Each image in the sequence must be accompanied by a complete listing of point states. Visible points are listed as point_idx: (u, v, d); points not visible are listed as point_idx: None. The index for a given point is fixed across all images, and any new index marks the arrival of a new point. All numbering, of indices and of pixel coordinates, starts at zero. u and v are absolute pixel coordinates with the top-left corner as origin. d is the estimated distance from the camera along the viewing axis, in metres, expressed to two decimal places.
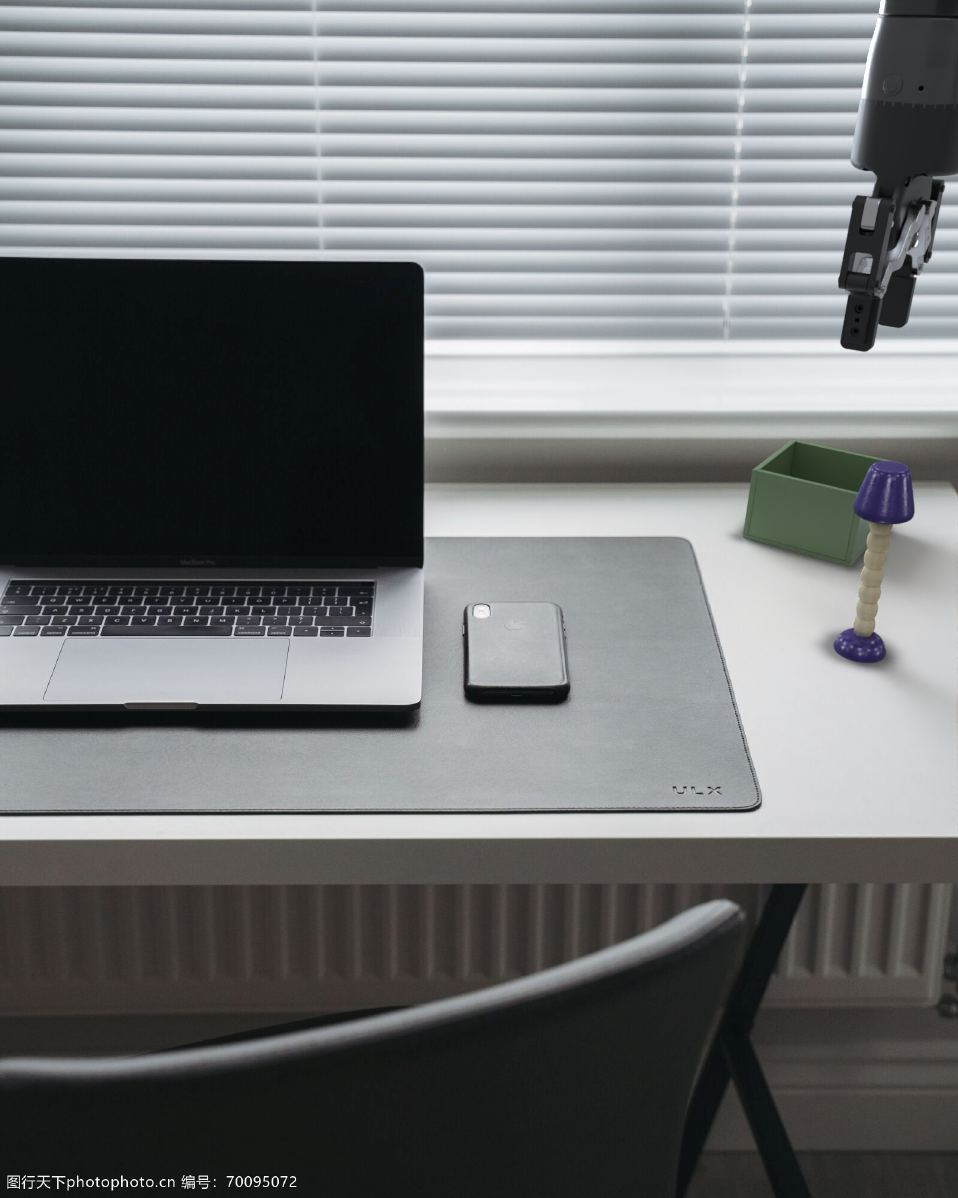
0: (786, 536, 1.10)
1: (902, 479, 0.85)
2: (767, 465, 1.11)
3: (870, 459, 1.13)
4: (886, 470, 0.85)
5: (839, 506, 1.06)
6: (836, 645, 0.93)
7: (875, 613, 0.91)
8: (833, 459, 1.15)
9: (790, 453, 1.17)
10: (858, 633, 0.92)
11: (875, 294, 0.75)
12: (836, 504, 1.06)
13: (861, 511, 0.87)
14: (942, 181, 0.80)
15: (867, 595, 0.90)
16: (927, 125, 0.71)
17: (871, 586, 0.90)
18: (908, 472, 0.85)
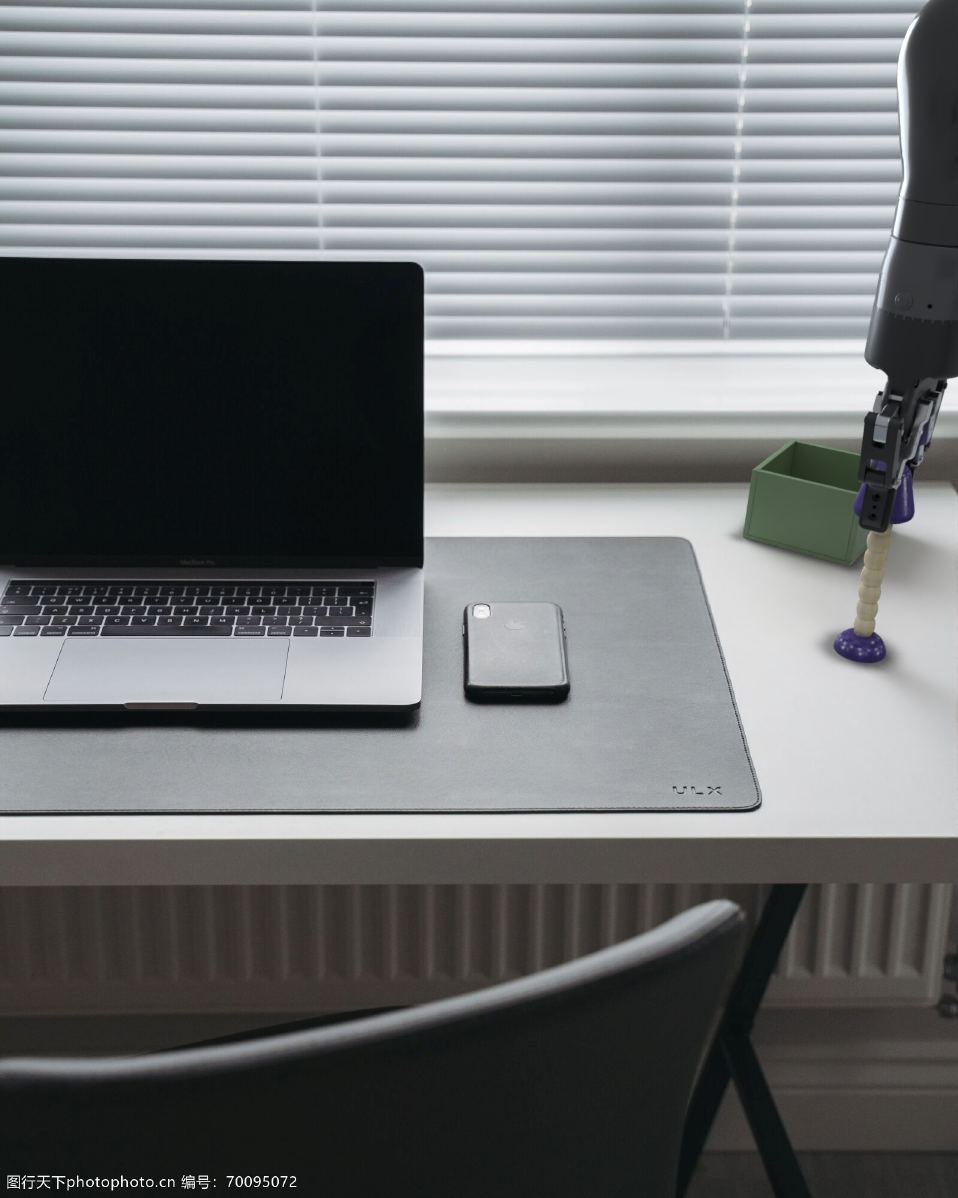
0: (786, 536, 1.10)
1: (902, 479, 0.85)
2: (767, 465, 1.11)
3: None
4: None
5: (839, 506, 1.06)
6: (836, 645, 0.93)
7: (875, 613, 0.91)
8: (833, 459, 1.15)
9: (790, 453, 1.17)
10: (858, 633, 0.92)
11: None
12: (836, 504, 1.06)
13: None
14: (945, 379, 0.87)
15: (867, 595, 0.90)
16: (935, 338, 0.77)
17: (871, 586, 0.90)
18: (908, 472, 0.85)
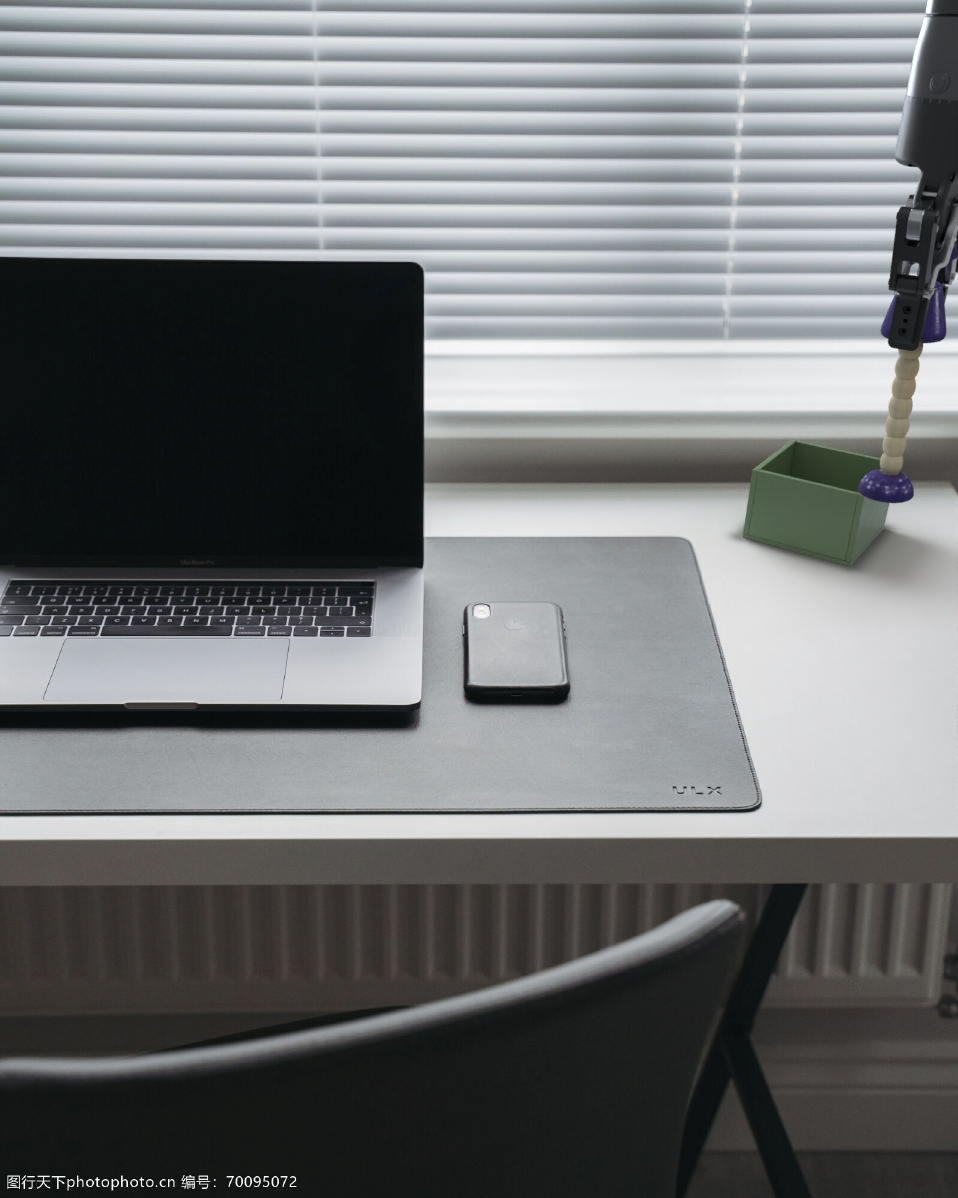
0: (786, 536, 1.10)
1: (934, 293, 0.80)
2: (767, 465, 1.11)
3: (870, 459, 1.13)
4: None
5: (839, 506, 1.06)
6: (861, 486, 0.88)
7: (903, 448, 0.86)
8: (833, 459, 1.15)
9: (790, 453, 1.17)
10: (885, 472, 0.87)
11: (923, 296, 0.78)
12: (836, 504, 1.06)
13: None
14: None
15: (895, 427, 0.85)
16: None
17: (899, 417, 0.85)
18: (940, 286, 0.80)
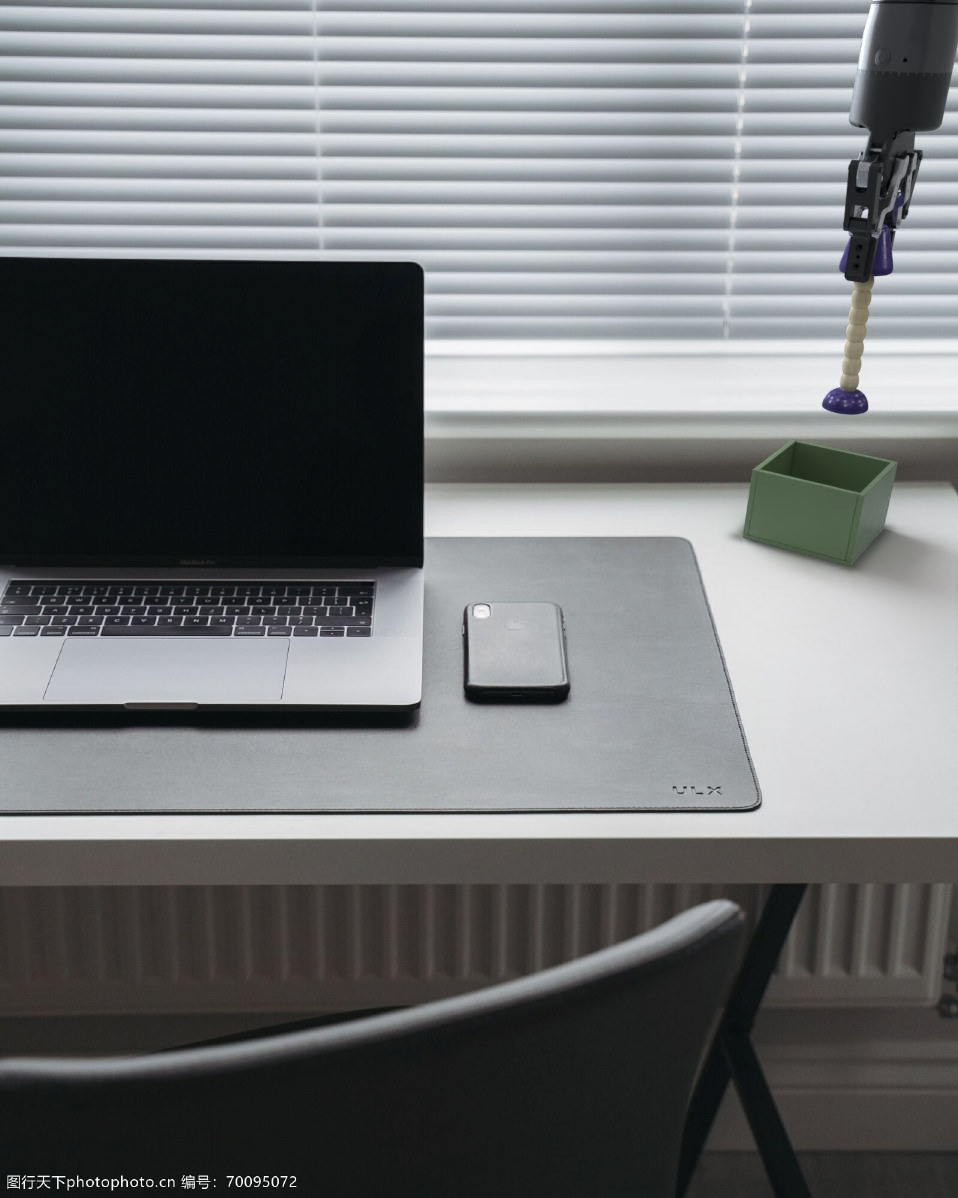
0: (786, 536, 1.10)
1: (882, 234, 0.96)
2: (767, 465, 1.11)
3: (870, 459, 1.13)
4: None
5: (839, 506, 1.06)
6: (824, 402, 1.04)
7: (859, 368, 1.02)
8: (833, 459, 1.15)
9: (790, 453, 1.17)
10: (844, 389, 1.03)
11: (872, 235, 0.94)
12: (836, 504, 1.06)
13: None
14: (921, 150, 0.98)
15: (851, 349, 1.01)
16: (910, 89, 0.89)
17: (855, 341, 1.01)
18: (887, 228, 0.96)
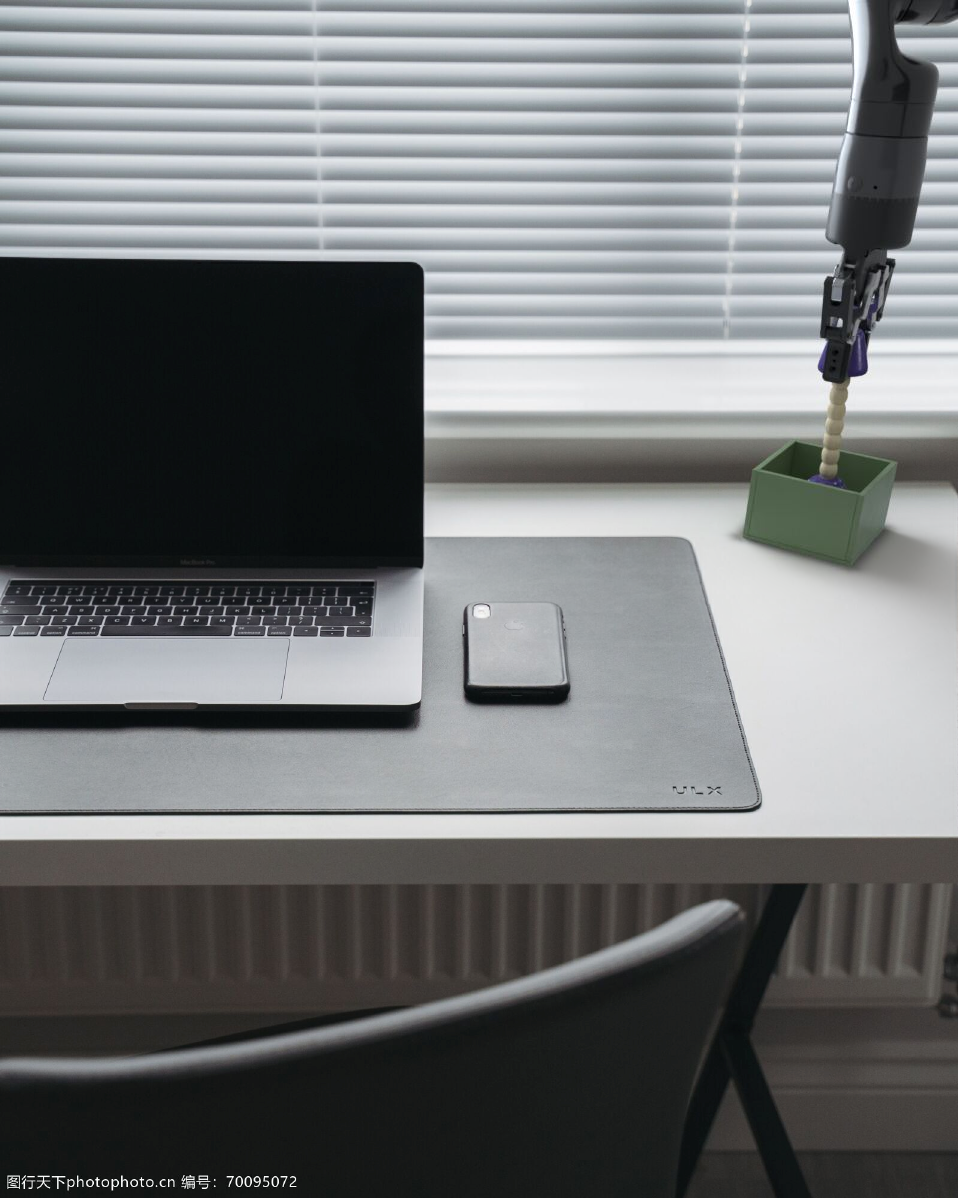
0: (786, 536, 1.10)
1: (856, 339, 1.03)
2: (767, 465, 1.11)
3: (870, 459, 1.13)
4: None
5: (839, 506, 1.06)
6: None
7: (837, 458, 1.10)
8: None
9: (790, 453, 1.17)
10: (823, 476, 1.11)
11: (847, 342, 1.01)
12: (836, 504, 1.06)
13: None
14: (894, 259, 1.06)
15: (830, 441, 1.09)
16: (880, 213, 0.96)
17: (833, 434, 1.08)
18: (862, 333, 1.04)
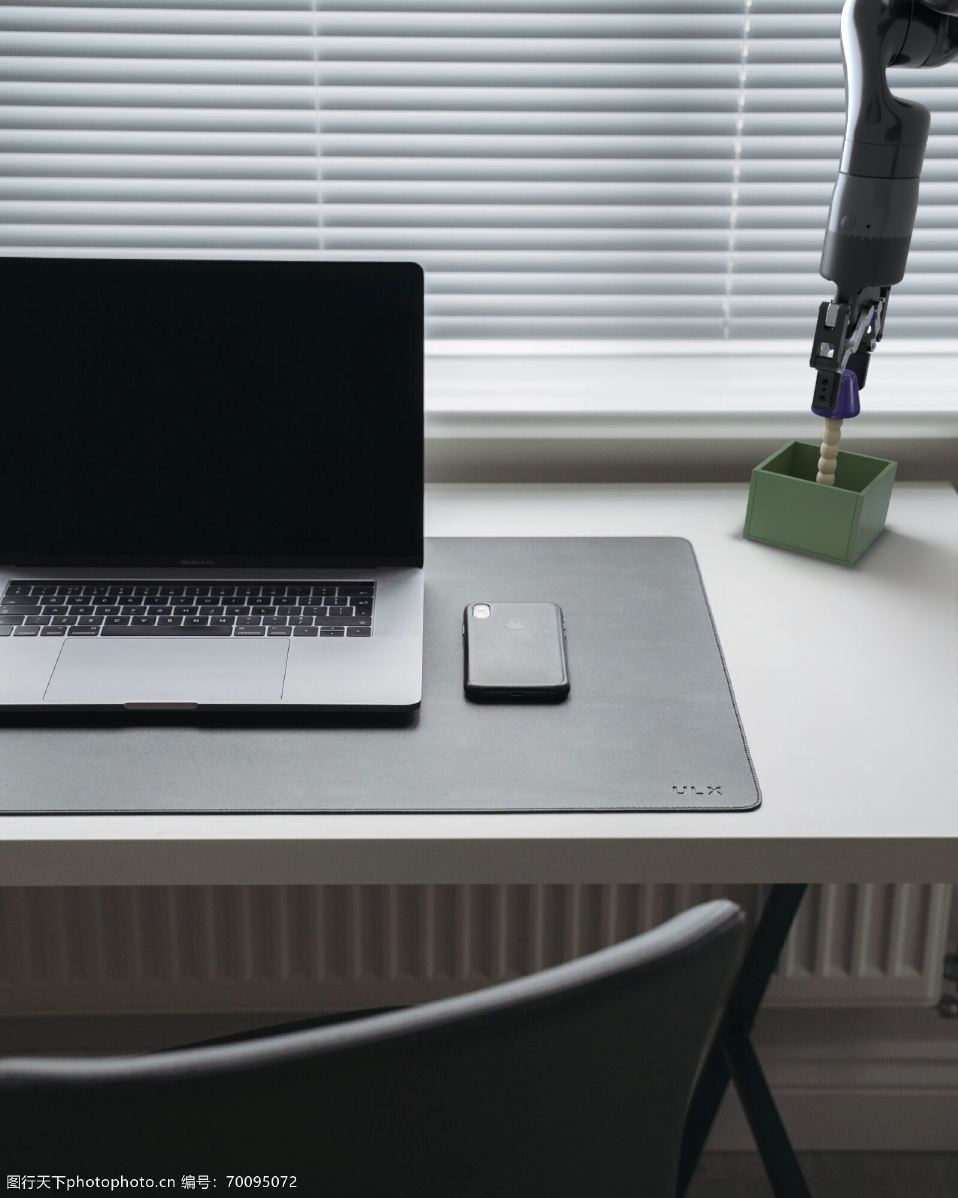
0: (786, 536, 1.10)
1: (849, 381, 1.05)
2: (767, 465, 1.11)
3: (870, 459, 1.13)
4: None
5: (839, 506, 1.06)
6: None
7: None
8: None
9: (790, 453, 1.17)
10: None
11: (837, 371, 1.01)
12: (836, 504, 1.06)
13: None
14: None
15: (823, 480, 1.11)
16: (873, 252, 0.97)
17: (826, 473, 1.10)
18: (854, 376, 1.06)
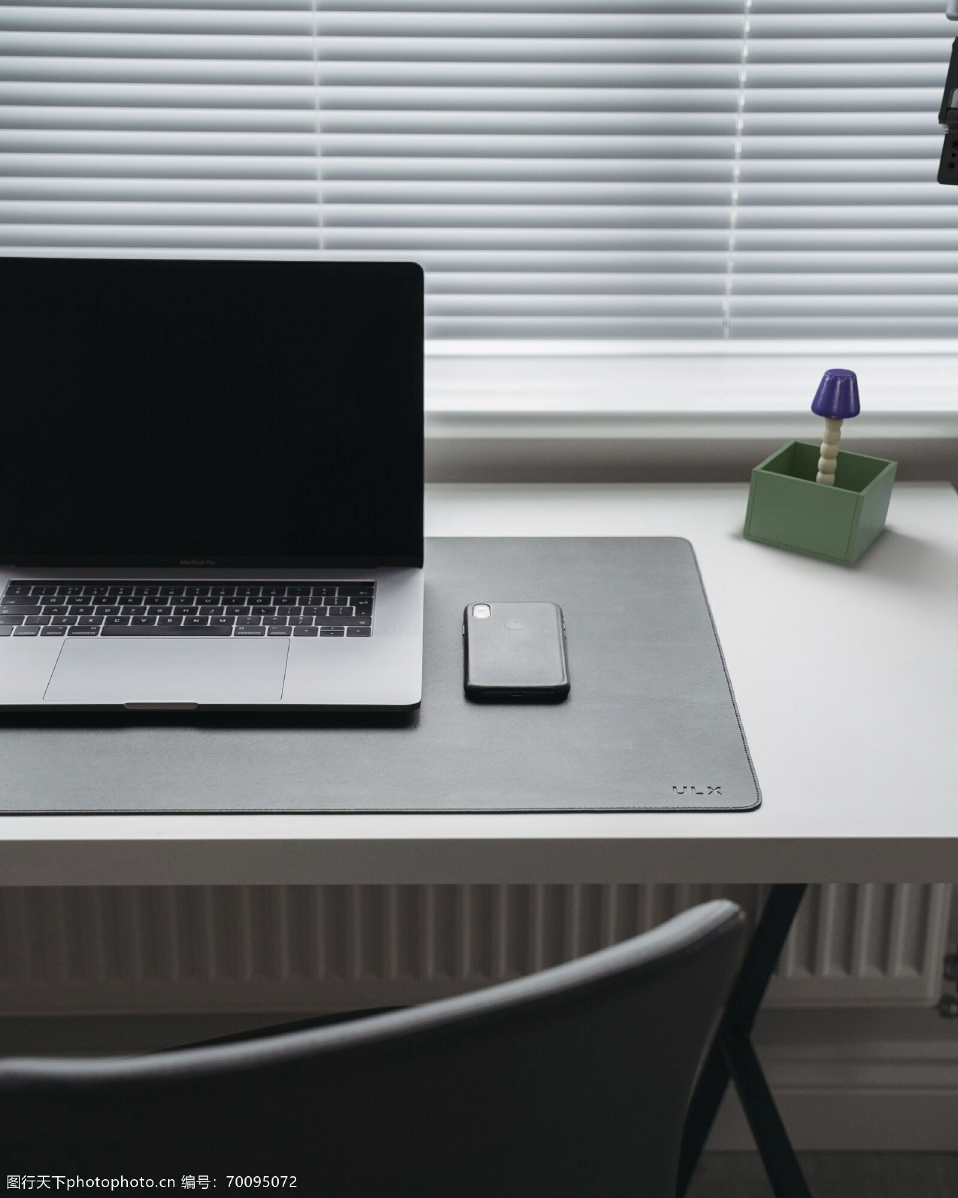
0: (786, 536, 1.10)
1: (849, 381, 1.05)
2: (767, 465, 1.11)
3: (870, 459, 1.13)
4: (836, 374, 1.06)
5: (839, 506, 1.06)
6: None
7: None
8: None
9: (790, 453, 1.17)
10: None
11: None
12: (836, 504, 1.06)
13: (817, 409, 1.07)
14: None
15: (823, 480, 1.11)
16: None
17: (826, 473, 1.10)
18: (854, 376, 1.06)
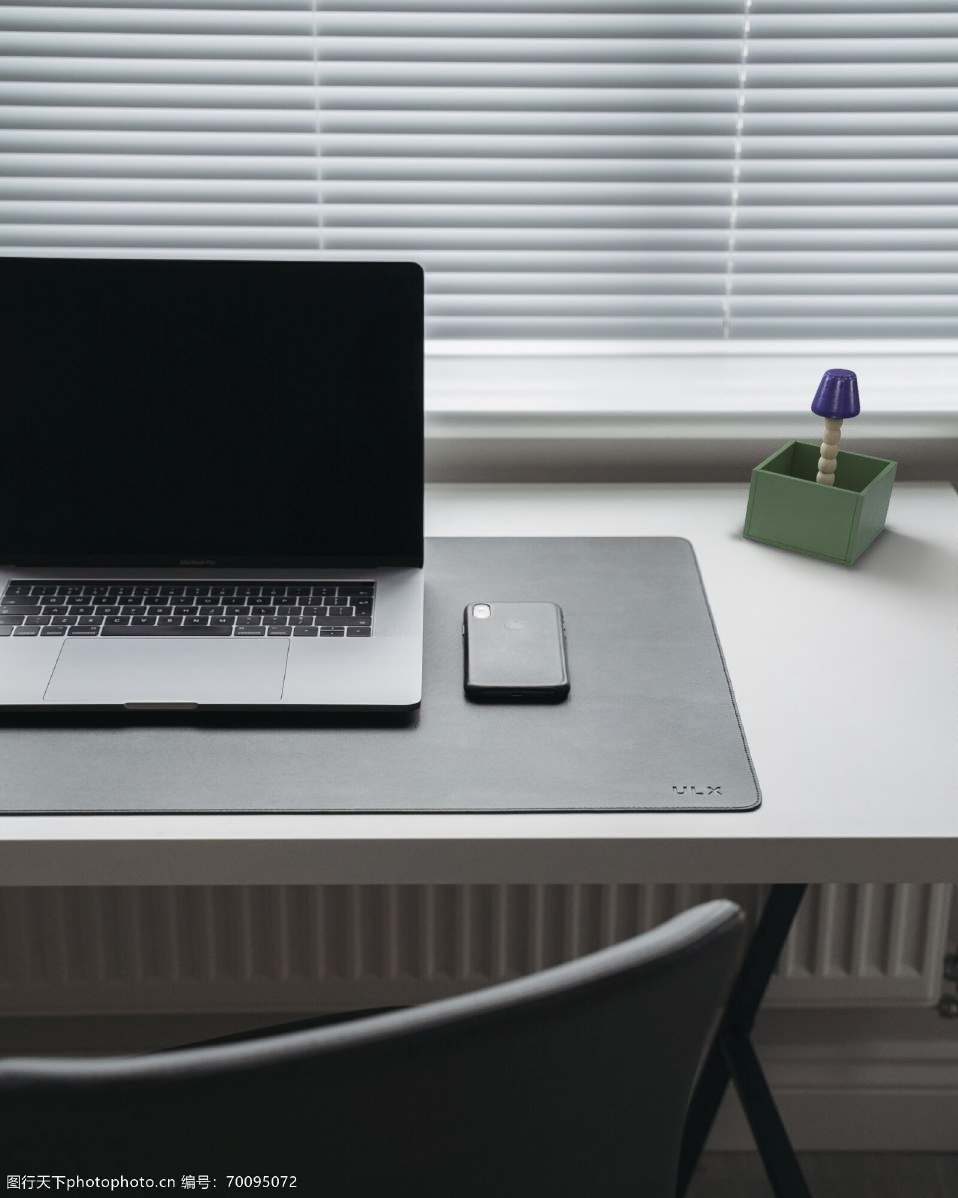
0: (786, 536, 1.10)
1: (849, 381, 1.05)
2: (767, 465, 1.11)
3: (870, 459, 1.13)
4: (836, 374, 1.06)
5: (839, 506, 1.06)
6: None
7: None
8: None
9: (790, 453, 1.17)
10: None
11: None
12: (836, 504, 1.06)
13: (817, 409, 1.07)
14: None
15: (823, 480, 1.11)
16: None
17: (826, 473, 1.10)
18: (854, 376, 1.06)
